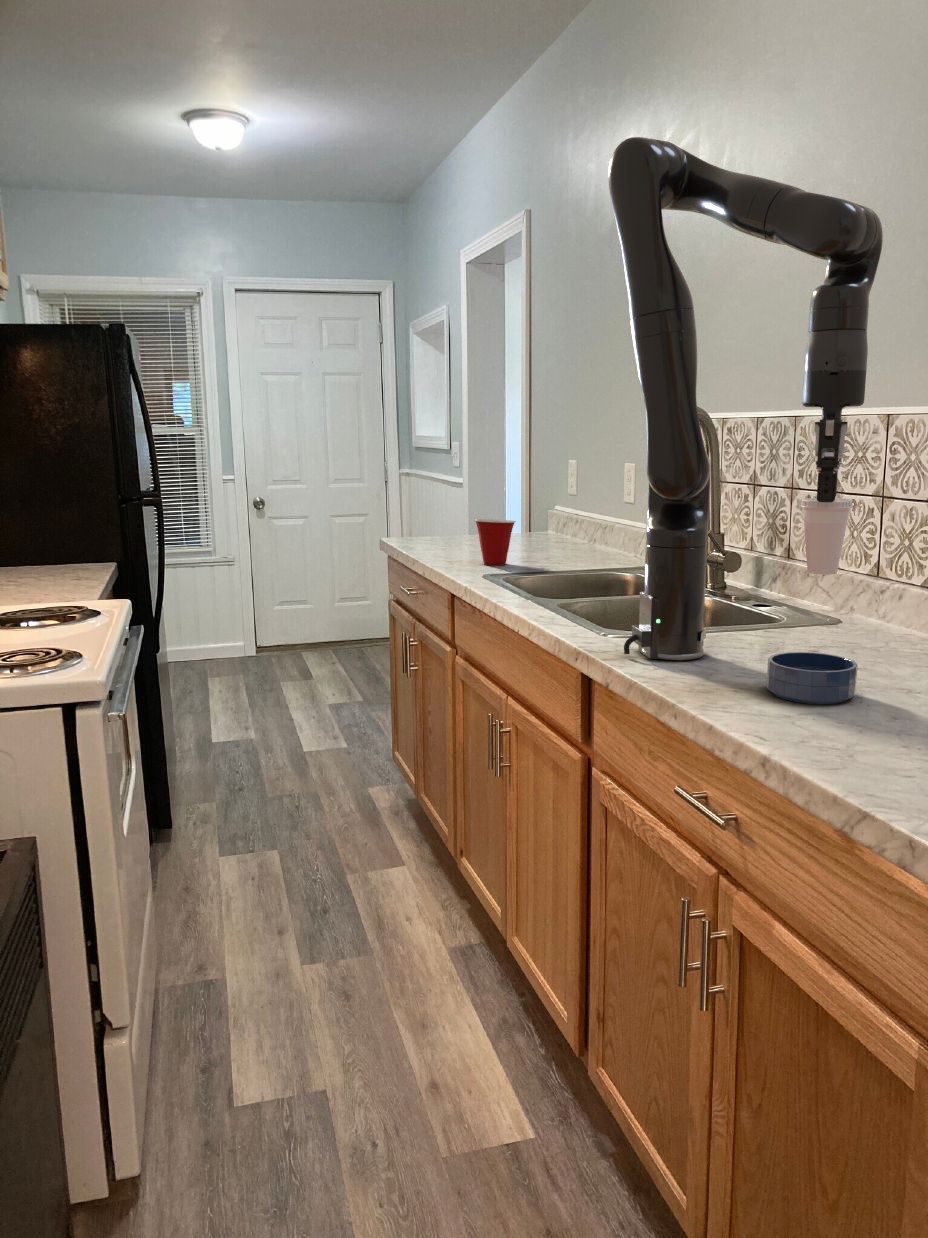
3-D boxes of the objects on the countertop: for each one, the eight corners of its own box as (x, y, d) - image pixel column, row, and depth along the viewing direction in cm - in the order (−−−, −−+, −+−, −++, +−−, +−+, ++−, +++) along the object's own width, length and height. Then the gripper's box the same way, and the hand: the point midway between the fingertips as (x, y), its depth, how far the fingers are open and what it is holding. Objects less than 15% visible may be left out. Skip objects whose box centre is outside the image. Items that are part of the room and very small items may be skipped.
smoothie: (852, 576, 125) (859, 467, 122) (800, 575, 126) (806, 467, 123) (843, 569, 131) (850, 465, 128) (793, 568, 132) (799, 465, 130)
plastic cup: (524, 563, 253) (524, 517, 251) (499, 568, 245) (499, 521, 243) (491, 560, 260) (490, 515, 258) (466, 564, 252) (466, 518, 249)
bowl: (790, 708, 122) (792, 673, 121) (752, 685, 133) (754, 653, 132) (871, 704, 123) (874, 669, 122) (828, 682, 134) (830, 650, 133)
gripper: (806, 372, 131) (799, 495, 135) (800, 366, 118) (792, 503, 122) (866, 370, 129) (857, 496, 132) (867, 364, 116) (857, 504, 119)
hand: (826, 499), depth 127 cm, fingers closed on smoothie, 6 cm apart
